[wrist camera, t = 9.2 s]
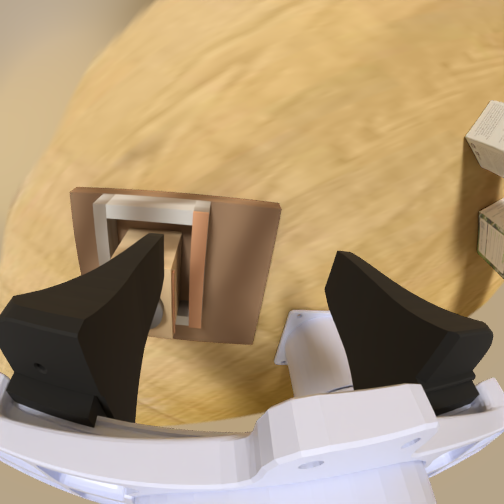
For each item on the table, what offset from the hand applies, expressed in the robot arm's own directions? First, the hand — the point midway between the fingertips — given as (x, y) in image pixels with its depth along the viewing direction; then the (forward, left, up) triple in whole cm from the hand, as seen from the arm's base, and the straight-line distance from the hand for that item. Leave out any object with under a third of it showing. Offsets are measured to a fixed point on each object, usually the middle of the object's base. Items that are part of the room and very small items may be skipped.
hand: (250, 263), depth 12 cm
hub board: (+5, +8, -10) cm, 14 cm away
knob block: (+6, +7, -9) cm, 13 cm away
